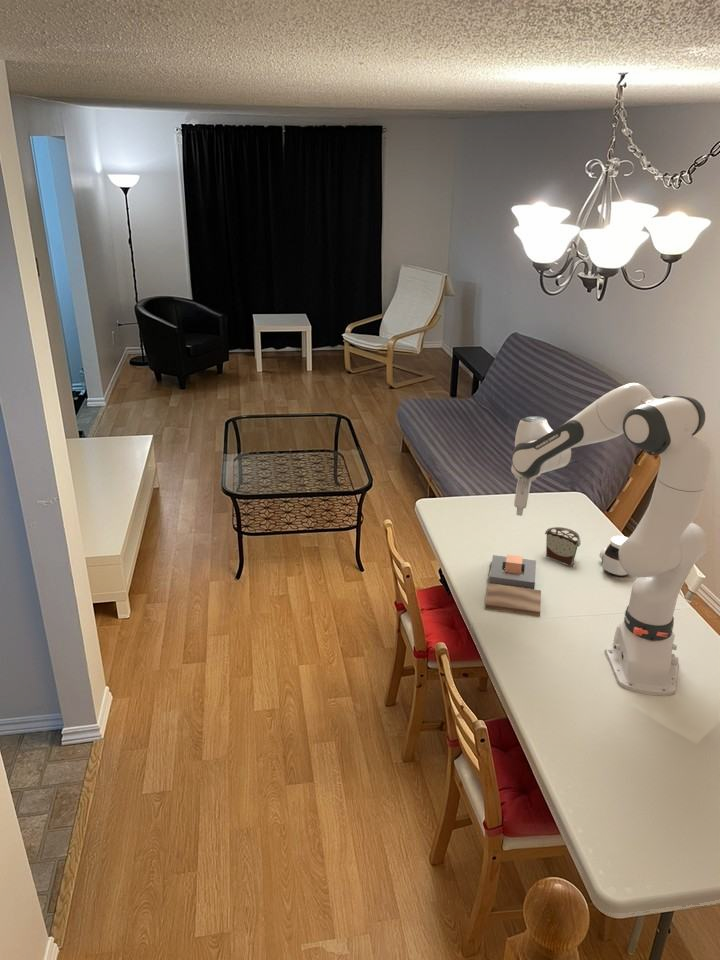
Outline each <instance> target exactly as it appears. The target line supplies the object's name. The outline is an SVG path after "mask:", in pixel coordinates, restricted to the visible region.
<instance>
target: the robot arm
mask: <svg viewBox="0 0 720 960" xmlns="http://www.w3.org/2000/svg"><path fill="white" fill-rule="evenodd" d="M548 422H549V421H548V420H547V419H546V418H545V417H543V416H539V415H535V416H532V415H531V416H526V417H523V418H522V419H520V420H519V423H518V424H517V429H516V432H515V439H514V448H513V450H512V455H511V469H510V470H511V472H510V473H512V474H513V475H514V478H515V479H517V483H516V489H515V495H514V496H515V497H514V503H513V505H514V507H515V508H516V516H520V517H521V516H523V513H524V509H527V505H528V500H529V494H530V490H531V486H532V485H531V484H532V482H533V481H535V480H536V479H537V478H538V477H541V474H544V473H548V472H551V471H554V470H557V469H558V470H559V469H561V468H564V467H566V466H568V465H569V463H570V462H571V459H572V456H573V450H572V449H573V448H579V447H582V446H587V445H591V444H596V443H597V444H598V443H601V442H606V441H608V440H612V439H615V438H617V437H619V436H621V435H624V437H625V438H626V440H627V441H628V442H629V443H630V444H631V445H633V446H634V447H636V448H637V449H640V450H642V451H644V452H645V453H646V454H647V455H649V456H652V457H653V456H658V455H659V457H660V465H659V469H658V472H657V476H656V480H655V484H654V488H653V492H652V495H651V498H650V501H649V504H648V506H647V509H646V510H645V512H644V513H643V516H642V517H641V520H640V521H639V522H638V524H637V526H636V527H635V529H634V530H633V532H632V533H631V534H630V535H629V536H628V539H627V540H626V541H625V542H624V543H623V544H622V545H621V546H620V548H619V561H620V564H621V566H622V568H623V569H624V570H625V572H626V573H628V575H629V576H630V577H633V578H635V580H634V582H633V584H632V586H631V591H630V597H629V601H628V602H629V603H628V605H627V606H626V609H625V611H624V619H623V621H622V622H621V623H620V624H618V625H617V626H616V629H615V632H614V637H613V640H612V641H613V642H612V645H608V646H606V647H605V649H604V653H605V656H606V658H607V661H608V663H609V665H610V668H611V670H612V672H613V674H614V677H615V680H616V682H617V683H618V685H619V686H620V687H622V688H625V689H627V690H630V691H633V692H636V693H641V694H646V695H652V696H670V695H674V694H676V689H677V678H678V670H679V669H678V668H679V657H678V656H676V654H675V653H673V650H674V651H677V647H678V645H677V644H674V642H675V641H674V640H675V637H676V634H675V632H673V629H674V624H675V623H674V620H675V618H674V614H675V613H674V612H675V609H676V604H677V601H678V597H679V594H680V592H681V589H682V587H683V586H684V583H685V581H686V580H687V578H688V576H689V574H690V572H691V571H692V569H693V567H694V565H695V564H696V563H697V562H698V561H699V559H700V558H701V557H702V556H704V555H705V553H706V552H707V550H708V538H707V535H706V533H705V531H704V530H703V529H702V528H701V527H700V525H698V524H697V523H694V521H695V519H696V518H697V517H698V515H699V512H700V509H701V508H700V507H701V505H702V501H703V499H704V495H705V491H706V487H707V485H708V484H707V483H708V480H709V479H708V478H709V474H710V468H711V457H712V456H711V454H712V453H711V449H710V446H709V445H708V444H707V443H706V442H705V441H704V440H702V439H700V438H698V437H694V436H695V435H697V434H698V433H699V432H700V431H701V430H702V429H703V427H704V425H705V422H706V412H705V409H704V407H703V405H702V403H700V402H699V401H698V400H697V399H695V398H693V397H690V396H684V395H683V396H682V395H663V396H662V397H661V398H656V397H654V396H653V395H652V393H651V391H650V390H649V389H648V388H647V387H646V386H645V385H643V384H640V383H638V382H629V383H625V384H624V385H621V386H618V387H617V388H615V389H612V390H610V391H608V392H607V393H605V394H603V395H602V396H601V397H599V398H597V399H596V400H595V401H593V402H592V403H591V404H589V405H588V406H586V407H585V408H584V409H583V410H581V411H580V412H579V413H577V414H576V415H574V416H573V417H571V418H570V419H569V420H567V421H566V422H564V423H563V424H561V425H560V426H557V428H555V429H553V428H551V426H550V424H549V423H548Z"/></svg>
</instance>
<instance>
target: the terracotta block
mask: <svg viewBox="0 0 720 960" xmlns="http://www.w3.org/2000/svg"><path fill="white" fill-rule="evenodd" d="M506 557H507V558H506V566H505V569H504V573H510V574H517V575H522V571H521V568H522V559H524V558H523V555H515V554H514V555H513V554H509V553H508V554H506Z"/></svg>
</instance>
